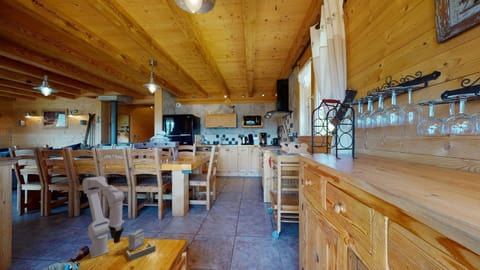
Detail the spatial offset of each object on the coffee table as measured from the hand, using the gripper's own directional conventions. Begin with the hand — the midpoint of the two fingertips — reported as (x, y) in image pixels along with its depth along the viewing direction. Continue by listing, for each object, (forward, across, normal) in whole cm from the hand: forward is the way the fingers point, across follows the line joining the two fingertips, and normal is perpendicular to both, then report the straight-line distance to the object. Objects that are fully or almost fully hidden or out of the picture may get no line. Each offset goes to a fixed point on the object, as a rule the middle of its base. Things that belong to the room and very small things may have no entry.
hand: (115, 240), depth 100 cm
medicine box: (+11, +8, -12) cm, 18 cm away
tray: (+11, -2, -12) cm, 16 cm away
